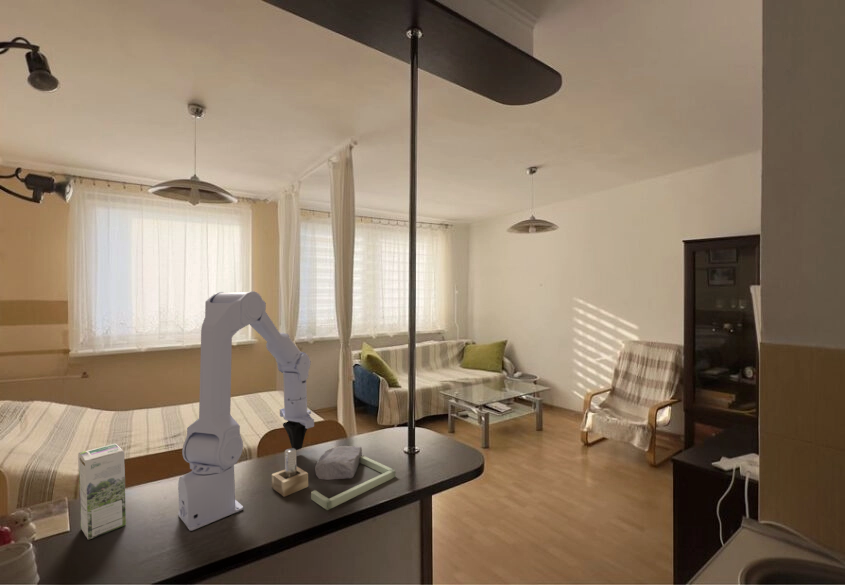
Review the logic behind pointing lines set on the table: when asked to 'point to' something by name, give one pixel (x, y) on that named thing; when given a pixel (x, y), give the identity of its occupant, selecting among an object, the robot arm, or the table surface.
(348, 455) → the stone block
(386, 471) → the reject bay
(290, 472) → the cylinder
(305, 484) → the block
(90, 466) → the syrup box
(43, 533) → the table surface
